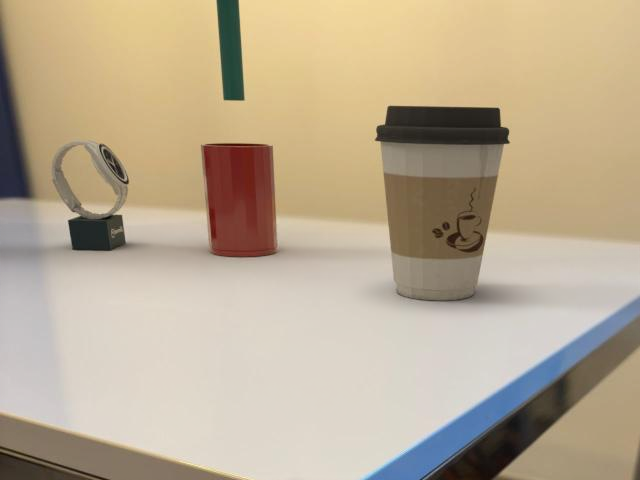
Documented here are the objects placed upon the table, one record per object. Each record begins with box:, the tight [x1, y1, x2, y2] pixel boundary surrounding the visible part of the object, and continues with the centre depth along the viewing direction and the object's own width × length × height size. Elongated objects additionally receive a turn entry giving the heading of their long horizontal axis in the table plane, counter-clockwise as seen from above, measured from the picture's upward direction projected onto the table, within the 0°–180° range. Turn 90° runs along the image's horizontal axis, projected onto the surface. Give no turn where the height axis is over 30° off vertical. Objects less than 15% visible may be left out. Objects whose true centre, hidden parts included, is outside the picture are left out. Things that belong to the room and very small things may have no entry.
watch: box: [51, 140, 130, 251], centre depth 88 cm, size 6×8×11 cm
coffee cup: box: [374, 105, 511, 301], centre depth 68 cm, size 11×11×15 cm
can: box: [200, 142, 278, 258], centre depth 86 cm, size 8×8×11 cm
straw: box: [215, 0, 246, 102], centre depth 78 cm, size 2×2×15 cm
